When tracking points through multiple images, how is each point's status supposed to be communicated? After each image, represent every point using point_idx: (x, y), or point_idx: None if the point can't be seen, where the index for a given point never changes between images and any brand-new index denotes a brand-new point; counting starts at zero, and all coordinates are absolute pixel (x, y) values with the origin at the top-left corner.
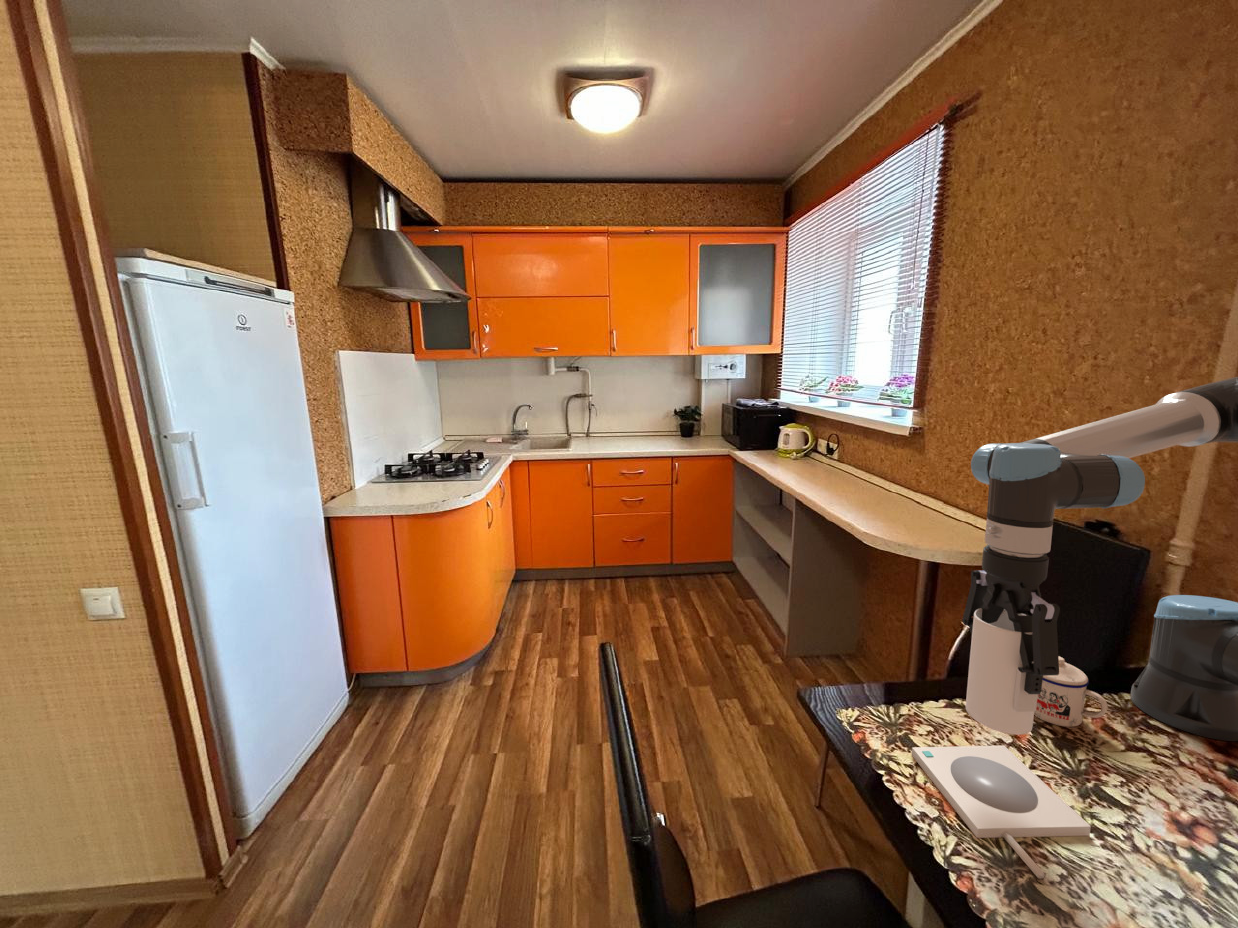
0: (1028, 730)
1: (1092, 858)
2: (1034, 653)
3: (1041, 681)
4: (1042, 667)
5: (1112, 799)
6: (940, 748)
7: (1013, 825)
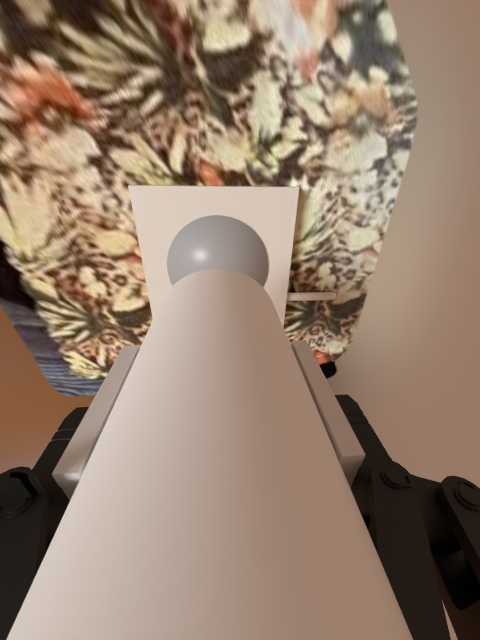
0: (274, 306)
1: (322, 215)
2: (465, 638)
3: (374, 436)
4: (468, 561)
5: (236, 59)
6: (152, 297)
7: (284, 290)
